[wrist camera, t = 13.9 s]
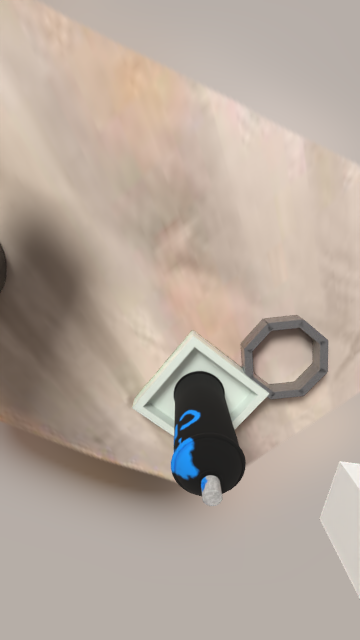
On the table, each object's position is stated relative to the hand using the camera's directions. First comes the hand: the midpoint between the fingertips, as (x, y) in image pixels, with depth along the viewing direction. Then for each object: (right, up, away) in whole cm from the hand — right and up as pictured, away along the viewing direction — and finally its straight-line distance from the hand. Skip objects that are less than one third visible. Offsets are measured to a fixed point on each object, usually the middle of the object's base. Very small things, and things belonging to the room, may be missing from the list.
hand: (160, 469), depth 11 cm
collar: (+17, 0, +36) cm, 40 cm away
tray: (+4, -6, +38) cm, 38 cm away
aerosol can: (+4, -6, +37) cm, 38 cm away
